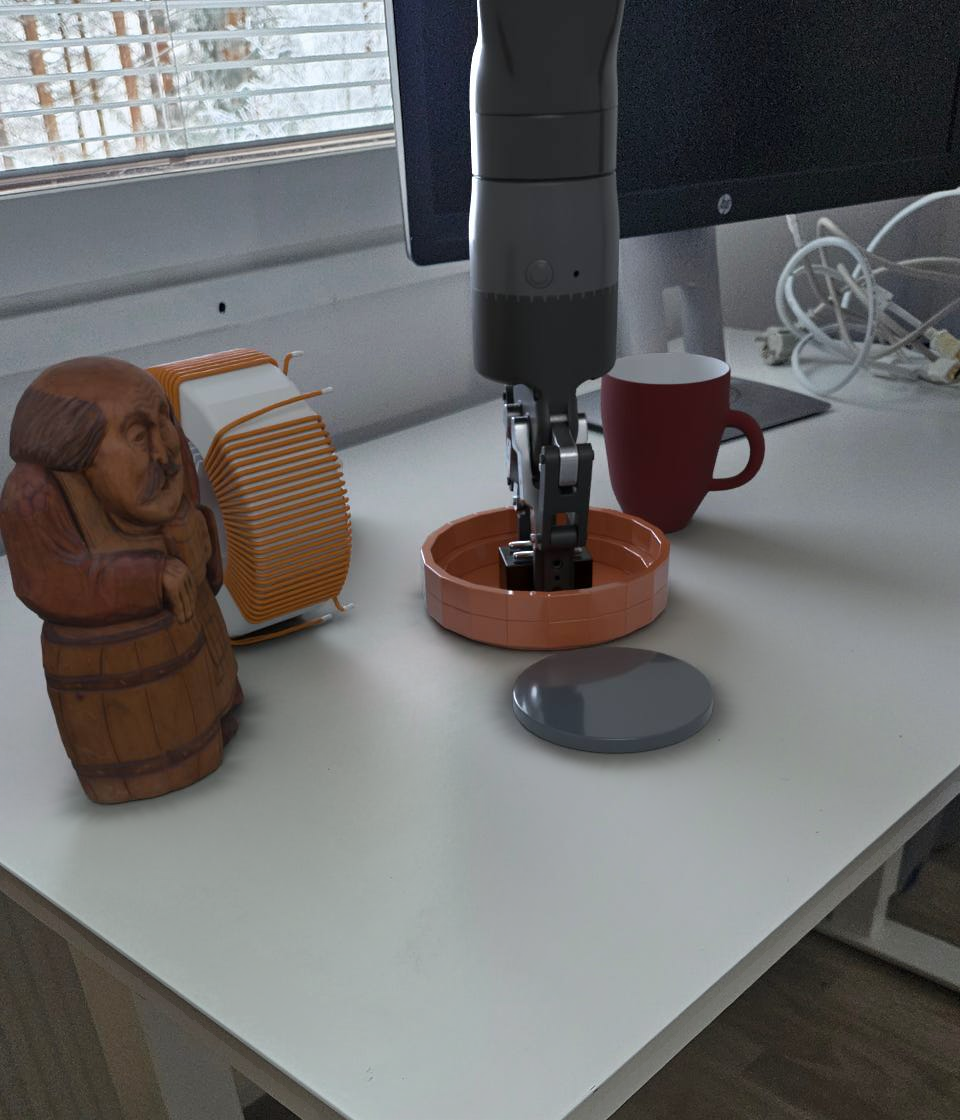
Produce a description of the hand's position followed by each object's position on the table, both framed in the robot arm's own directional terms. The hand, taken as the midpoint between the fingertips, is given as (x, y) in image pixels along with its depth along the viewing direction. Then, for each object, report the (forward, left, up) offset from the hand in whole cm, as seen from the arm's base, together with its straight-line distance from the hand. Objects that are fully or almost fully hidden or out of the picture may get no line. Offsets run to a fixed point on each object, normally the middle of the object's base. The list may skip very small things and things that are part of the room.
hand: (545, 589), depth 72 cm
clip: (0, 0, 0) cm, 0 cm away
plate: (-1, +13, -1) cm, 13 cm away
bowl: (0, 0, -1) cm, 1 cm away
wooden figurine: (+21, +13, -1) cm, 25 cm away
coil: (+17, -1, -1) cm, 17 cm away
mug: (-11, -11, -1) cm, 16 cm away
